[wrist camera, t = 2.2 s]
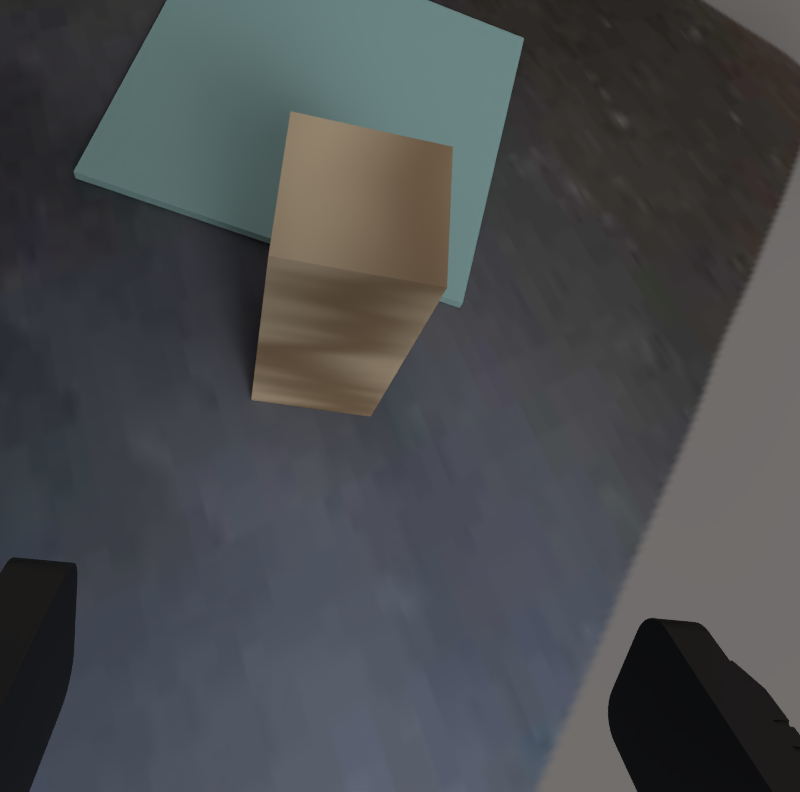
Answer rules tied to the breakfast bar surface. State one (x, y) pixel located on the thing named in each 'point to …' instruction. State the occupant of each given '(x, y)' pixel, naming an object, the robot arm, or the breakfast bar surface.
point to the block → (350, 263)
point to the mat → (301, 103)
